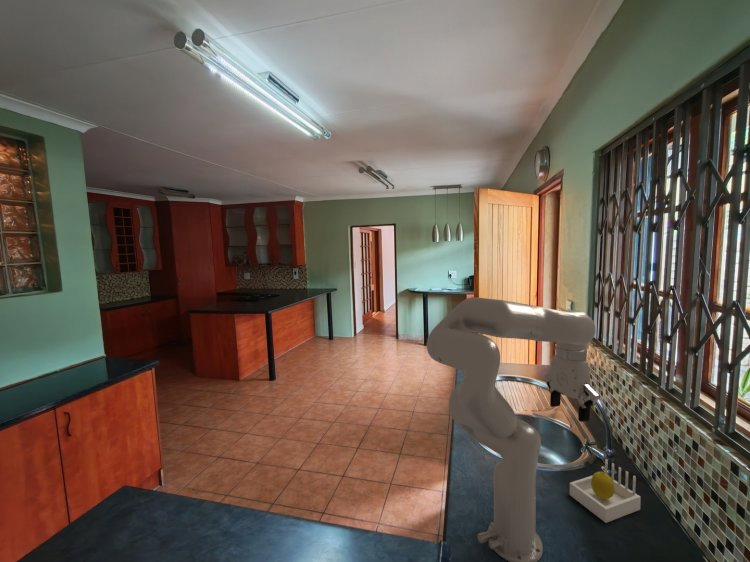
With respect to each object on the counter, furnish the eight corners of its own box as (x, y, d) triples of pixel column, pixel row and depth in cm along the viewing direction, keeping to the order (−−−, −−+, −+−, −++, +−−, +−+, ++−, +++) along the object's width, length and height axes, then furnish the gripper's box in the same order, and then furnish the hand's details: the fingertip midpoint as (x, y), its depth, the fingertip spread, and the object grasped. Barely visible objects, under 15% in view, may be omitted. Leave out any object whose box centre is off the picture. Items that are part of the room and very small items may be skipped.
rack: (605, 522, 88) (606, 491, 87) (569, 494, 98) (570, 466, 98) (640, 509, 92) (641, 479, 91) (602, 484, 103) (602, 456, 102)
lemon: (618, 507, 92) (618, 479, 92) (595, 504, 93) (596, 477, 93) (608, 493, 98) (609, 467, 97) (587, 490, 99) (588, 465, 98)
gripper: (537, 347, 102) (535, 402, 103) (588, 363, 85) (585, 429, 86) (557, 345, 104) (555, 399, 105) (610, 361, 87) (607, 425, 88)
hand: (568, 413), depth 95 cm, fingers open, 9 cm apart
